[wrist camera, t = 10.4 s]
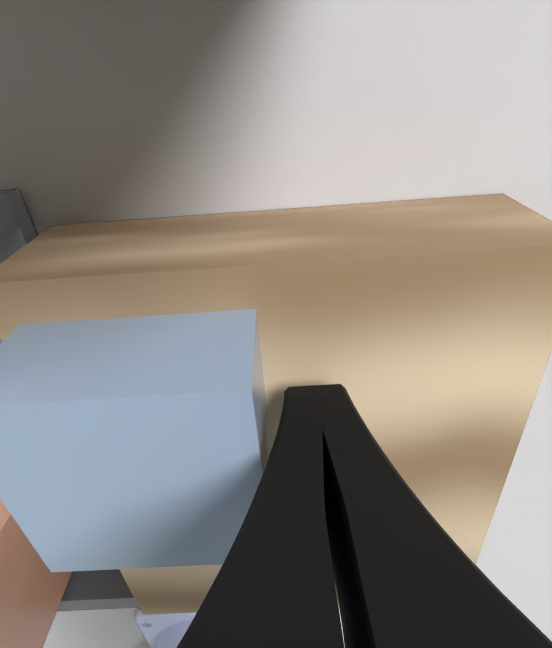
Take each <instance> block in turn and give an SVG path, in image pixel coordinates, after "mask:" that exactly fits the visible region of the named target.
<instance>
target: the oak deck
mask: <svg viewBox="0 0 552 648" xmlns="http://www.w3.org/2000/svg"><path fill="white" fill-rule="evenodd" d="M249 309H256V310H257V319H258V328H259V338H260V347H261V356H262V365H263V375H264V384H265V393H266V403H267V412H268V421H269V430H270V440H271V449H272V446H273V443H274V440H275V437H276V433H277V429H278V426H279V422H280V418H281V413H282V408H283V401H284V391H285V390H286V389H287V388H288V387H292V386H310V385H328V384H341V385H343V386H344V387H345V388H346V390H347V392H348V394H349V396H350V398H351V400H352V402H353V404H354V406H355V408H356V409H357V411H358V413H359V414H360V416H361V418H362V419H363V421H364V423H365V424H366V426H367V428H368V429H369V431H370V432H371V434H372V435H373V437H374V438H375V440H376V441H377V443H378V444H379V446H380V447H381V449H382V450H383V452H384V453H385V454H386V456H387V457H388V459H389V460H390V462H391V463H392V464H393V466H394V467H395V469H396V470H397V471H398V473H399V474H400V475H401V477H402V478H403V479H404V481H405V482H406V483H407V485H408V486H409V487H410V489H411V490H412V491H413V492H414V494H415V495H416V496H417V498H418V499H419V500H420V501H421V503H422V504H423V505H424V506H425V508H426V509H427V510H428V511H429V512H430V514H431V515H432V516H433V517H434V519H435V520H436V521H437V522H438V523H439V524H440V526H441V527H442V528H443V529H444V530H445V532H446V533H447V534H448V535H449V536H450V537H451V538H452V539H453V541H454V542H455V543H456V544H457V545H458V546H459V547H460V548H461V550H462V551H463V552H464V553H465V554H466V555H467V556H468V557H469V558H470V560H471V561H472V562H473V563H474V564H475V565H476V562H477V559H478V556H479V553H480V551H481V548H482V545H483V542H484V539H485V537H486V534H487V531H488V528H489V525H490V523H491V520H492V517H493V514H494V511H495V509H496V506H497V503H498V500H499V497H500V495H501V492H502V489H503V486H504V484H505V481H506V478H507V475H508V472H509V470H510V467H511V464H512V461H513V458H514V456H515V453H516V450H517V447H518V444H519V442H520V439H521V436H522V433H523V430H524V428H525V425H526V422H527V419H528V416H529V414H530V411H531V408H532V405H533V402H534V400H535V397H536V394H537V391H538V388H539V386H540V383H541V380H542V377H543V374H544V372H545V369H546V366H547V363H548V360H549V358H550V355H551V352H552V221H551V220H549V219H547V218H546V217H544V216H542V215H540V214H539V213H537V212H535V211H533V210H531V209H530V208H528V207H526V206H524V205H522V204H521V203H519V202H517V201H515V200H514V199H512V198H510V197H508V196H506V195H505V194H489V195H475V196H461V197H447V198H432V199H418V200H404V201H390V202H376V203H362V204H348V205H334V206H319V207H305V208H291V209H277V210H263V211H249V212H235V213H221V214H206V215H192V216H178V217H164V218H150V219H136V220H122V221H108V222H93V223H79V224H65V225H52V226H51V227H49V228H48V229H46V230H45V231H44V232H42V233H41V234H40V235H38V236H37V237H36V238H34V239H33V240H32V241H30V242H29V243H28V244H26V245H25V246H24V247H22V248H21V249H20V250H18V251H17V252H15V253H14V254H13V255H11V256H10V257H9V258H7V259H6V260H5V261H3V262H2V263H1V264H0V338H1V340H2V342H3V341H4V340H5V338H6V337H7V336H8V335H9V334H10V333H11V332H12V331H13V330H14V329H15V328H16V327H17V326H18V325H19V324H30V323H46V322H62V321H77V320H93V319H108V318H124V317H140V316H155V315H171V314H186V313H202V312H218V311H233V310H249ZM222 565H223V564H220V565H199V566H177V567H156V568H135V569H119V570H120V572H121V574H122V576H123V577H124V579H125V581H126V583H127V585H128V587H129V589H130V591H131V593H132V595H133V597H134V599H135V601H136V603H137V605H138V607H139V609H140V611H141V612H142V614H143V615H149V614H172V613H194V612H198V610H199V608H200V606H201V604H202V602H203V601H204V599H205V597H206V595H207V593H208V591H209V589H210V588H211V586H212V584H213V582H214V580H215V578H216V576H217V575H218V573H219V571H220V569H221V567H222ZM335 588H336V586H335ZM336 595H337V591H336ZM337 601H338V597H337ZM338 606H339V602H338Z"/></svg>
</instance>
